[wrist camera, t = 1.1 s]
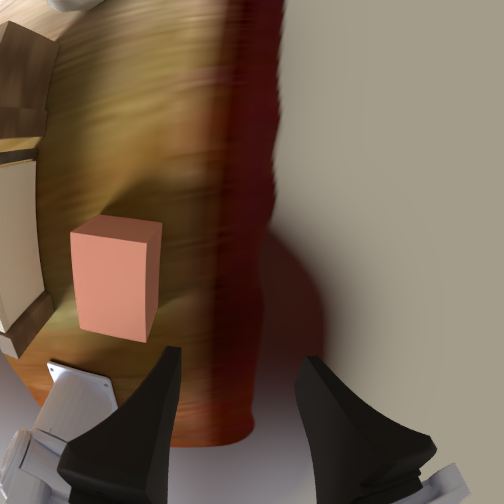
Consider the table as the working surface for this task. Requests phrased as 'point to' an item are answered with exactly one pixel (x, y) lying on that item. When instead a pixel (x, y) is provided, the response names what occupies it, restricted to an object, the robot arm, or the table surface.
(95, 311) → the block
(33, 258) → the door
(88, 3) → the salt shaker
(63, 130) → the table surface
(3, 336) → the frame
